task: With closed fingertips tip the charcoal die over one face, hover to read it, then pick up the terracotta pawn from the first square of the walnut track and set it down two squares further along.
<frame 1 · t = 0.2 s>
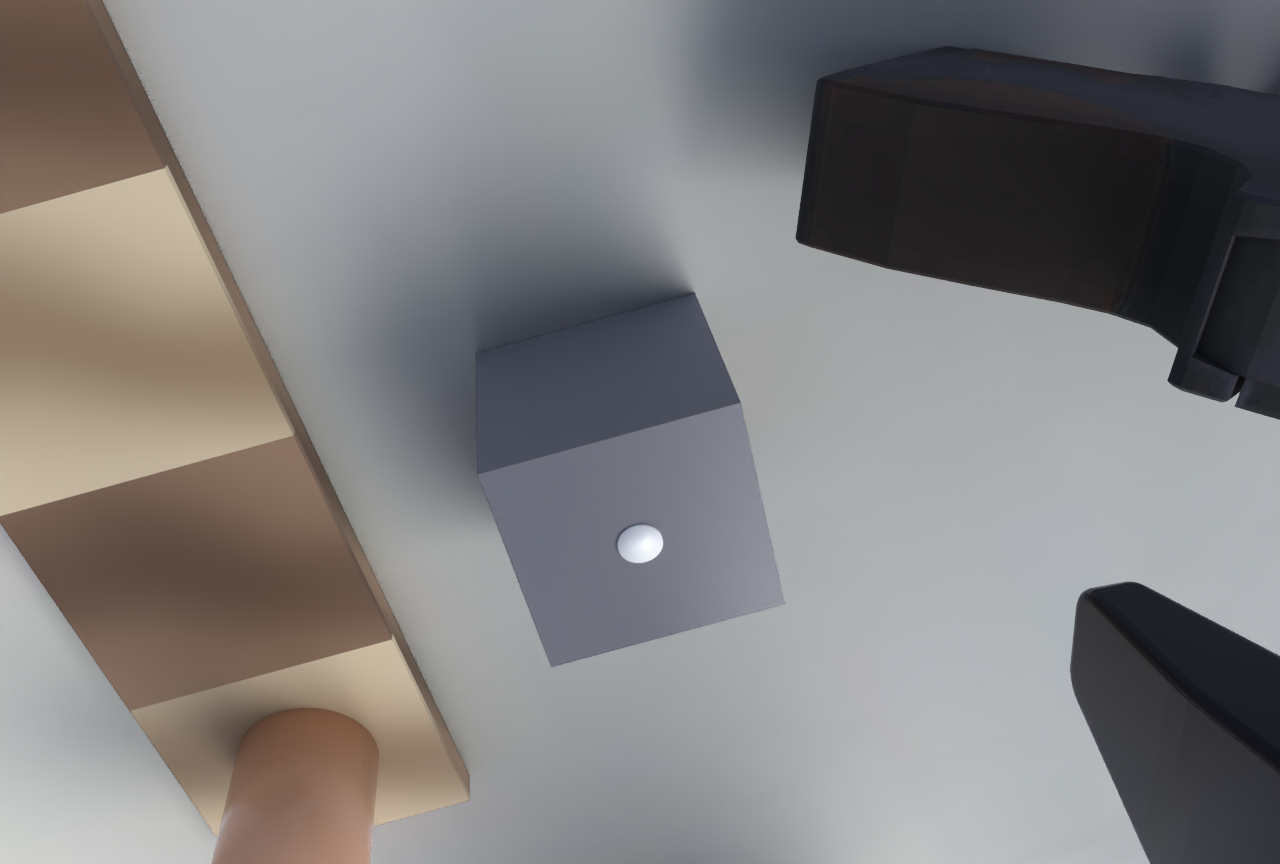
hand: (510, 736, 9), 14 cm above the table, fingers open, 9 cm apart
die: (612, 414, 24), on the table
track: (154, 454, 22), on the table
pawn: (308, 758, 26), point 1 cm above the table, touching track
handgun: (1166, 121, 22), on the table
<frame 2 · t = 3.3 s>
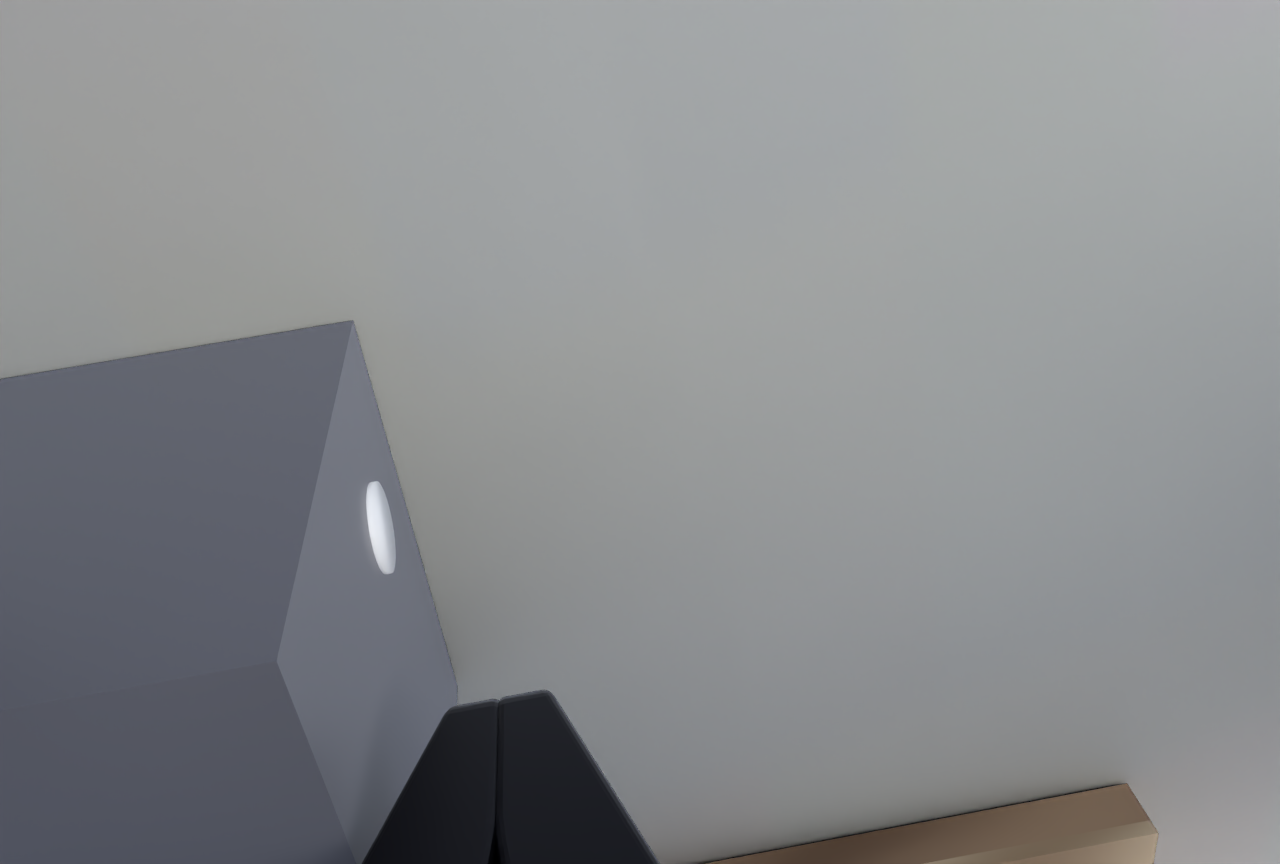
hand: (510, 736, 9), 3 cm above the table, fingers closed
die: (185, 561, 11), on the table, touching gripper
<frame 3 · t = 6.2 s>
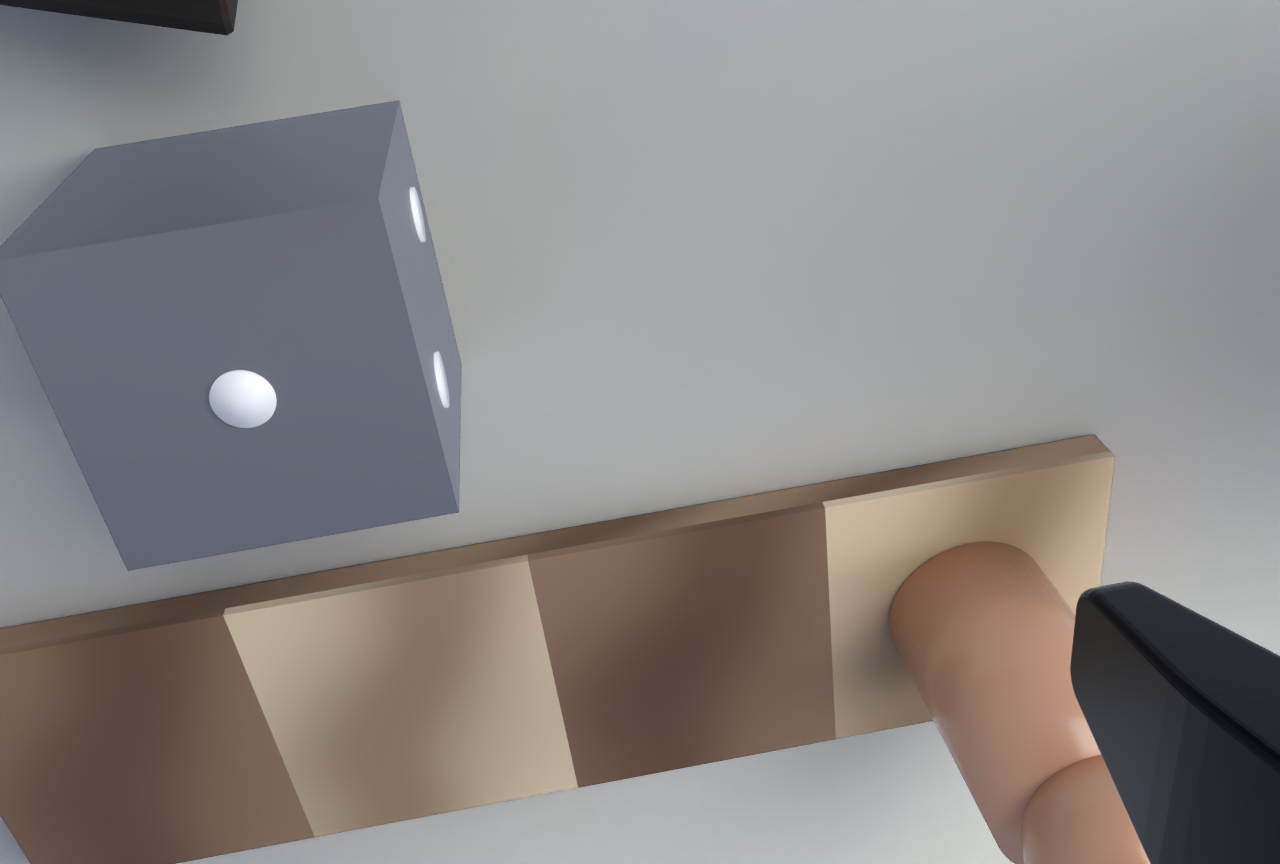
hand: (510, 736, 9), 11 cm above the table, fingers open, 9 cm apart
die: (292, 262, 18), on the table
track: (552, 654, 23), on the table
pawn: (967, 607, 22), point 1 cm above the table, touching track
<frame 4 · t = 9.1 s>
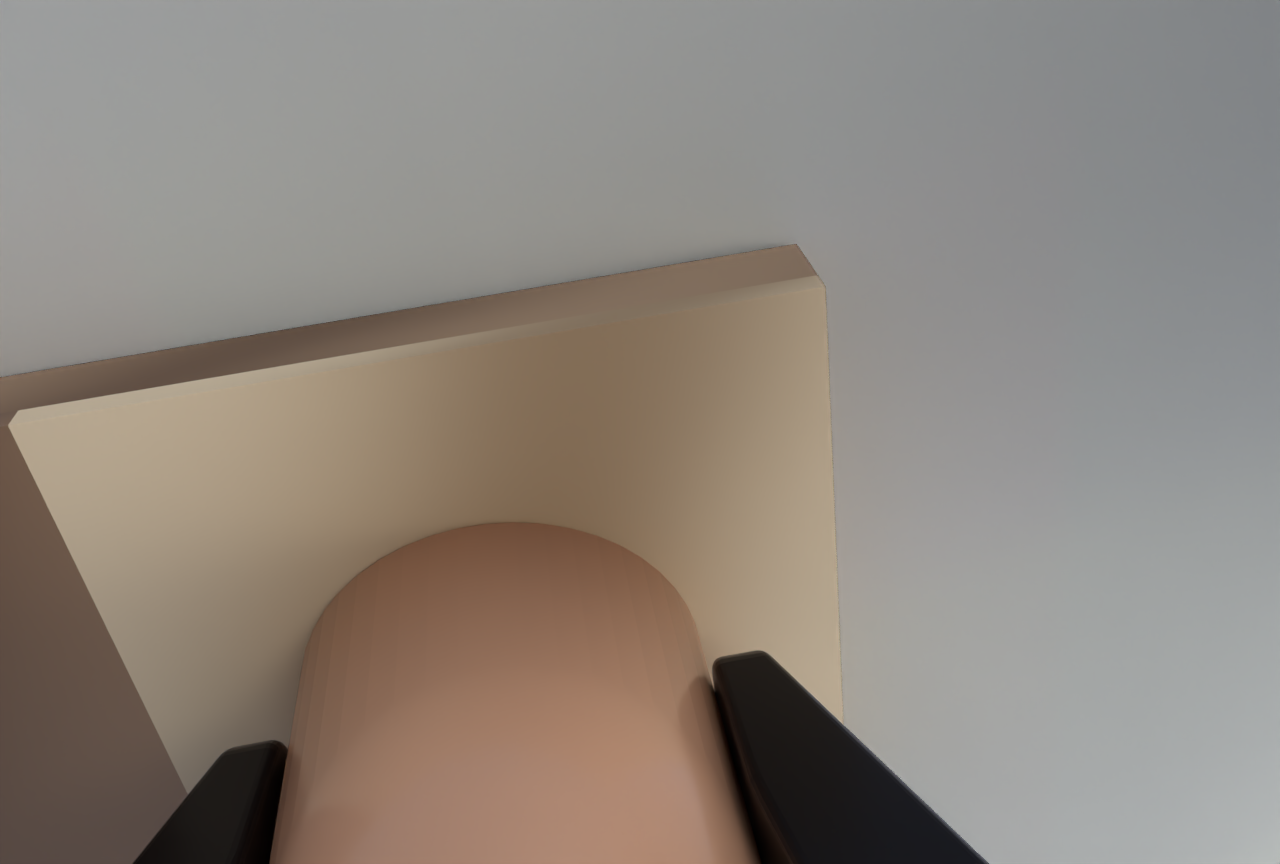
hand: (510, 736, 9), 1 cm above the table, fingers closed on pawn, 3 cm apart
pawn: (506, 684, 9), point 1 cm above the table, touching gripper, track
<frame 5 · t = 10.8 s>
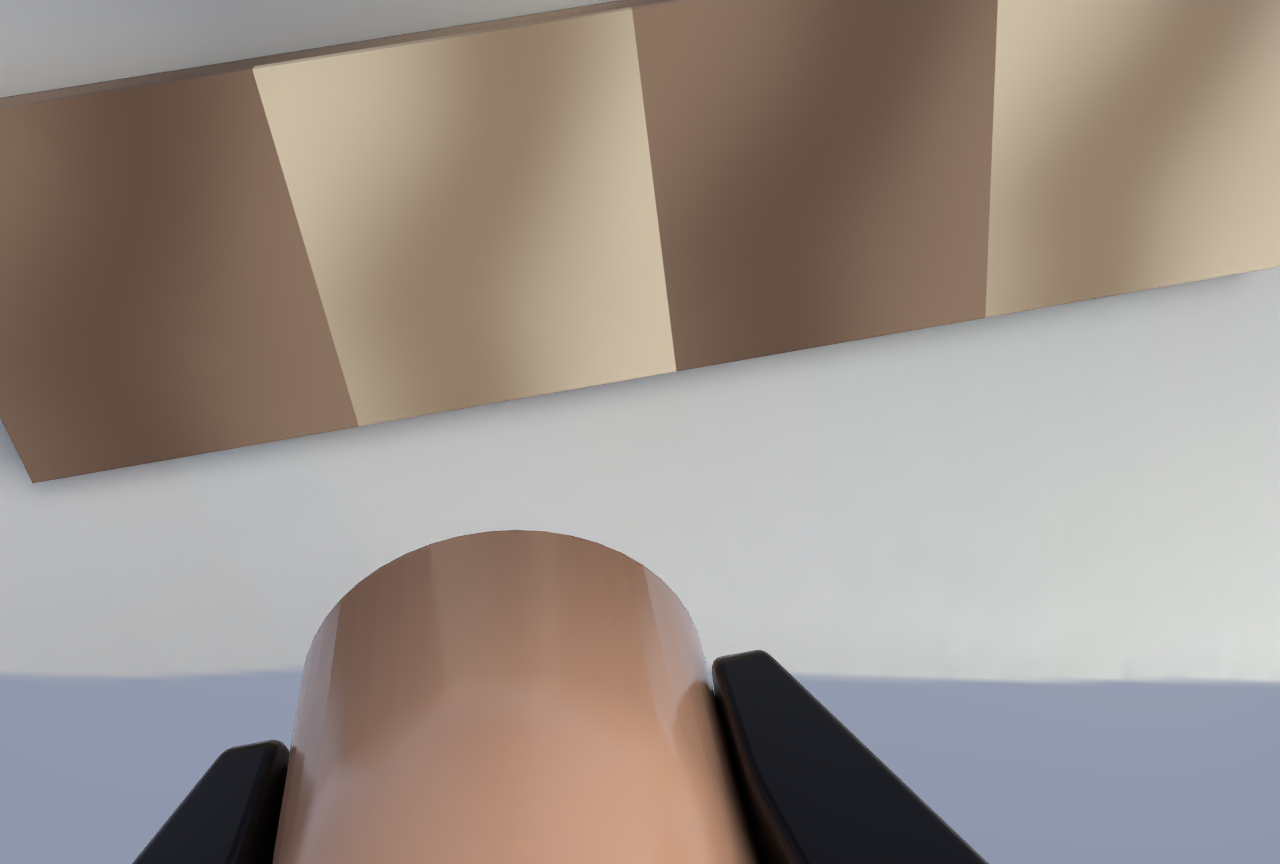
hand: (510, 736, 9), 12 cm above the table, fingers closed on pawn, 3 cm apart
track: (649, 189, 19), on the table
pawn: (507, 692, 9), point 11 cm above the table, touching gripper
when the fingers open (3 cm above the table, at t = 12.6 s): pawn drops 1 cm, resting on track.
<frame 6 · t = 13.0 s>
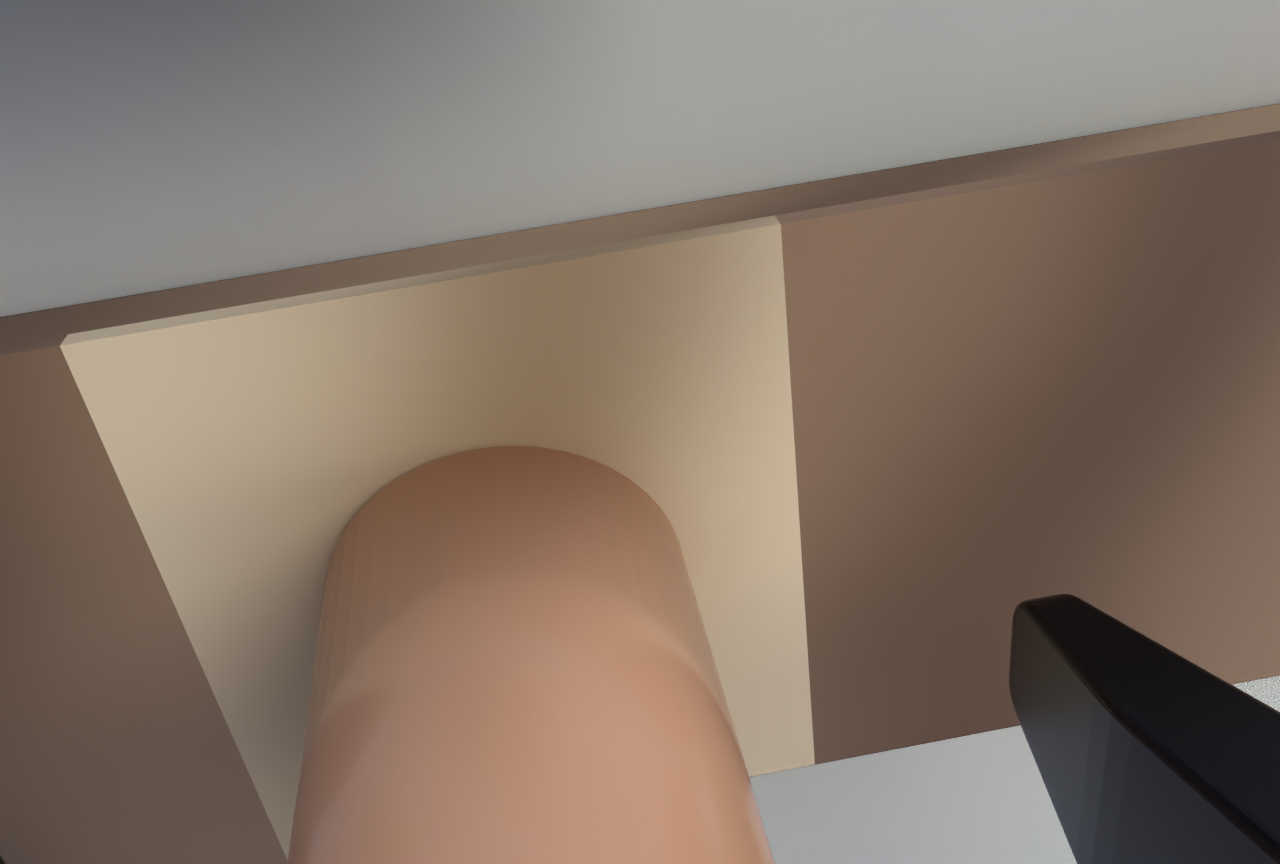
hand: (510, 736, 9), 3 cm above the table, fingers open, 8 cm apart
track: (779, 487, 11), on the table
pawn: (509, 597, 10), point 1 cm above the table, touching track
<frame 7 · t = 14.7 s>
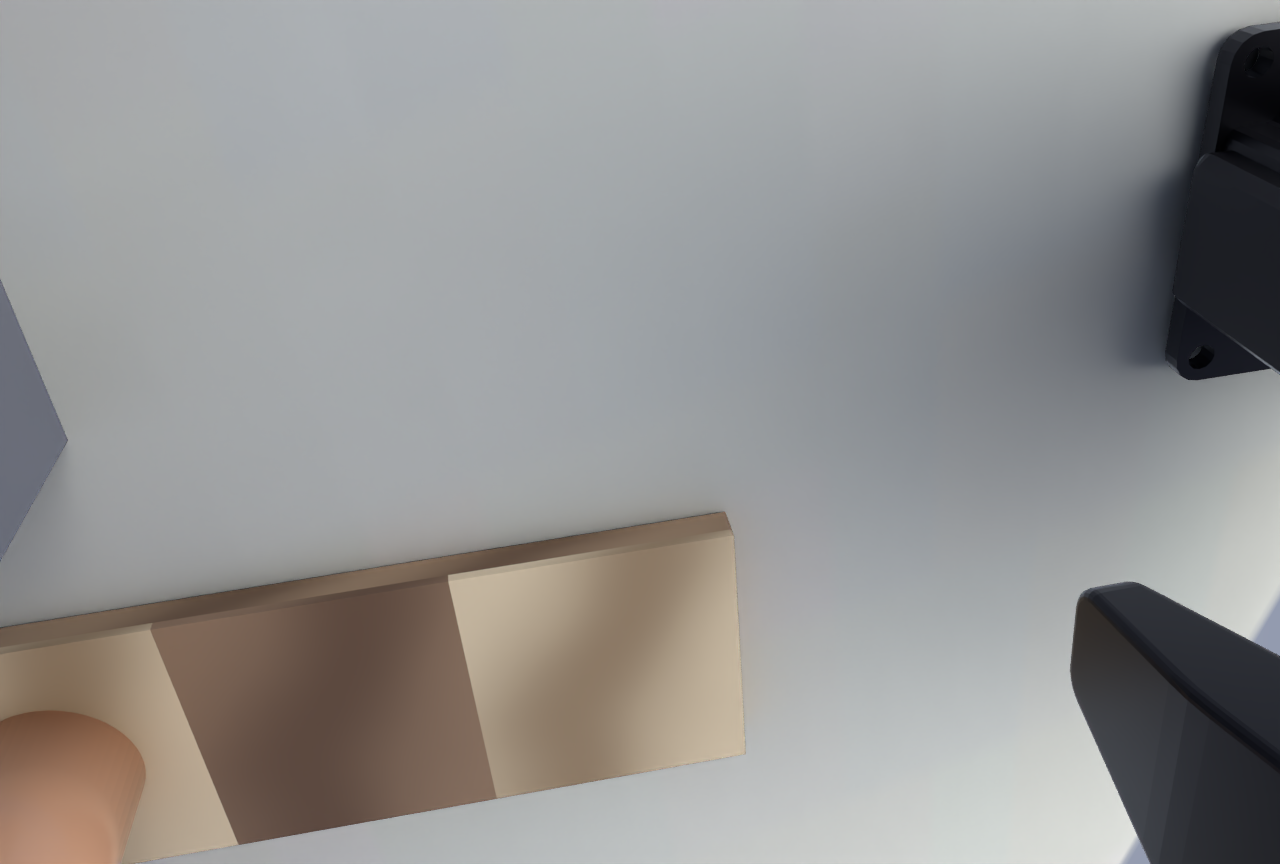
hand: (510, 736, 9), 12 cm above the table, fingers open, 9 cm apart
track: (204, 715, 23), on the table
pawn: (59, 771, 22), point 1 cm above the table, touching track
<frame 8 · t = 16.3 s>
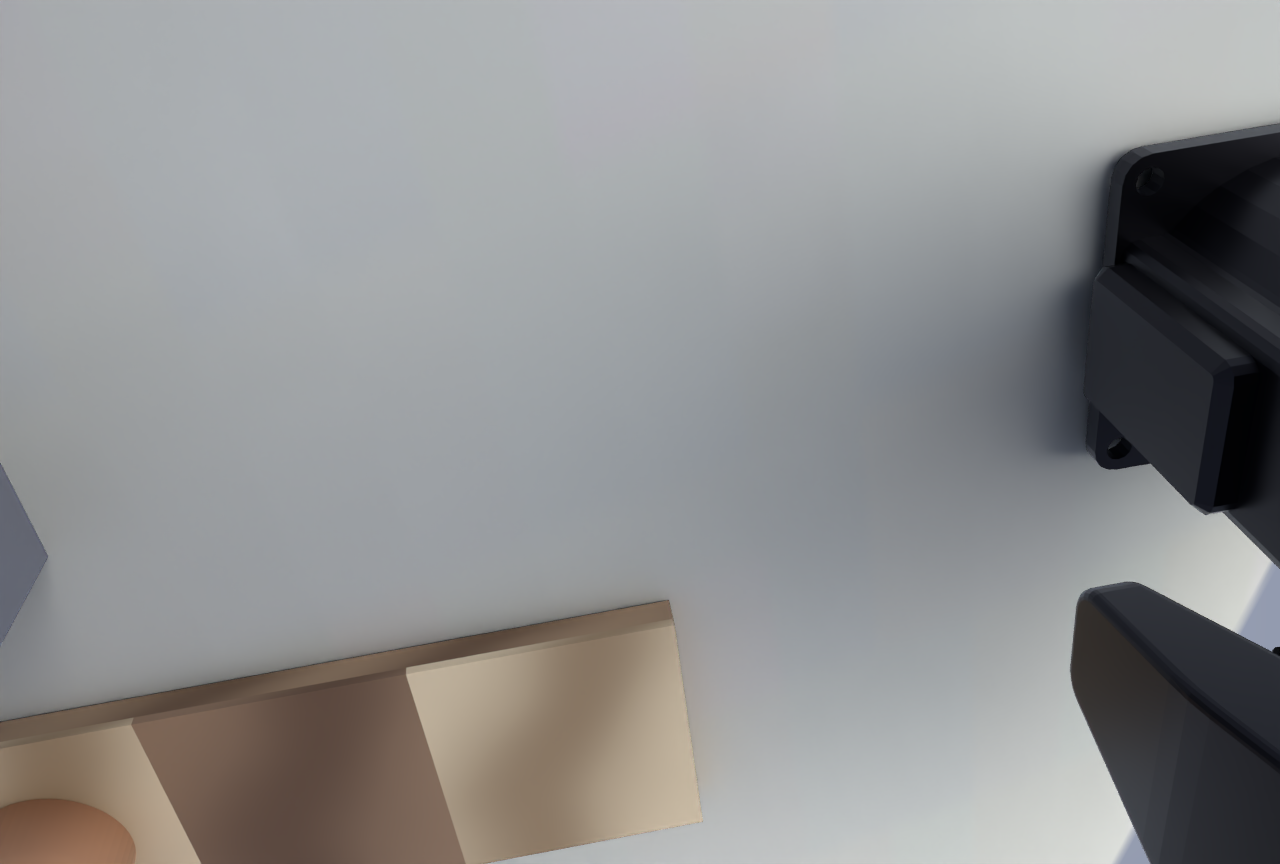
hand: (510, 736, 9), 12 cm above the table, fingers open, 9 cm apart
track: (189, 795, 25), on the table
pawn: (55, 851, 24), point 1 cm above the table, touching track
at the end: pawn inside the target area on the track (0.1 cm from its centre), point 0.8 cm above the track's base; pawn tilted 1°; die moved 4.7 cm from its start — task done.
